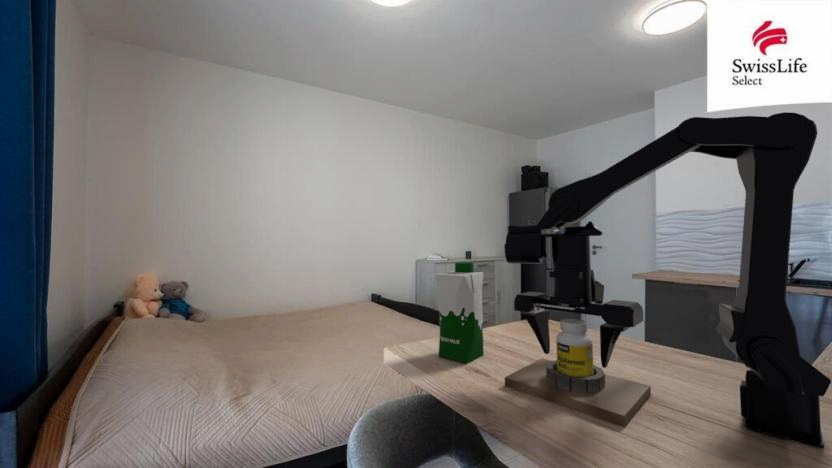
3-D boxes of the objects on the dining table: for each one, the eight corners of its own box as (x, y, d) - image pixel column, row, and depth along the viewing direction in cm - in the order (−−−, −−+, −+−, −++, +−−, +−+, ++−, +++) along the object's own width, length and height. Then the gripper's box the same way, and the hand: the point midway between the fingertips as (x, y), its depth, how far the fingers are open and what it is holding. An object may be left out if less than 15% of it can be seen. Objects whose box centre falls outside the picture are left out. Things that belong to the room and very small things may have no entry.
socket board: (650, 395, 53) (650, 372, 53) (624, 427, 44) (623, 400, 44) (541, 366, 66) (541, 348, 66) (504, 386, 57) (504, 365, 57)
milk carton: (489, 354, 73) (487, 262, 74) (467, 367, 67) (464, 265, 67) (455, 347, 79) (453, 261, 80) (431, 357, 72) (430, 264, 73)
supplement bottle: (552, 382, 55) (550, 321, 55) (564, 372, 59) (562, 316, 59) (588, 391, 51) (585, 326, 52) (598, 380, 55) (596, 320, 56)
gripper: (651, 263, 54) (654, 361, 54) (540, 260, 68) (543, 338, 68) (630, 267, 47) (634, 381, 46) (510, 263, 60) (513, 351, 60)
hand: (574, 359), depth 55 cm, fingers open, 9 cm apart
